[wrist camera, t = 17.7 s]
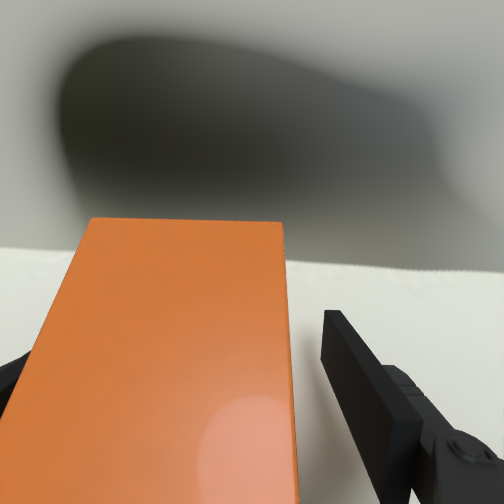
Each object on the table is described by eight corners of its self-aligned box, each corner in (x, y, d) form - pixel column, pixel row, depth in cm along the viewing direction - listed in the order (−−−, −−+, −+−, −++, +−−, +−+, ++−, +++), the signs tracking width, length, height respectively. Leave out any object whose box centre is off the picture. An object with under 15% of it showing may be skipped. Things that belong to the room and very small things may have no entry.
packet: (261, 343, 17) (284, 219, 7) (262, 486, 14) (316, 694, 3) (183, 341, 17) (89, 214, 7) (161, 484, 14) (-129, 686, 3)
